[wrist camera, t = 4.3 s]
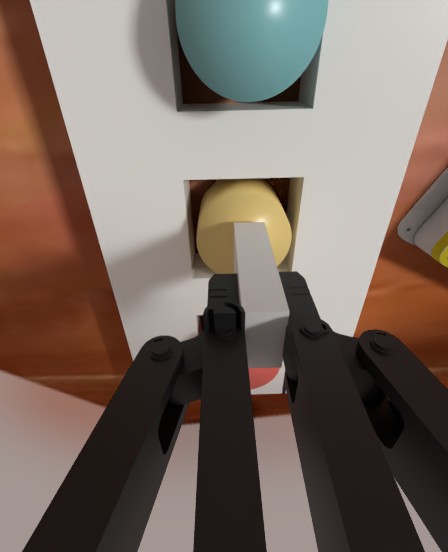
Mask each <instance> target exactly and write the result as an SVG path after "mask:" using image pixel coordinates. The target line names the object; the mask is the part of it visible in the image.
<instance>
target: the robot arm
mask: <svg viewBox="0 0 448 552" xmlns="http://www.w3.org/2000/svg"><path fill="white" fill-rule="evenodd" d="M203 320H204V330H203V331H202V332H201V333H200V334H199V335H197V336H196V337H194V338H191V339H189V340H185V341H182V342H180V341H179V340H178V339H176V338H175V337H172V336H165V335H161V336H157V337H154V338H152V339H150V340H148V341H147V342H146V343H145V344H144V345H143V346H142V347H141V349H140V351H139V352H138V354H137V356H136V357H135V359H134V361H133V363H132V364H131V366H130V368H129V369H128V371H127V373H126V375H125V376H124V378H123V380H122V381H121V383H120V385H119V387H118V388H117V390H116V392H115V393H114V395H113V397H112V399H111V400H110V402H109V404H108V405H107V407H106V409H105V411H104V412H103V414H102V416H101V418H100V419H99V421H98V423H97V424H96V426H95V428H94V430H93V431H92V433H91V435H90V436H89V438H88V440H87V441H86V443H85V445H84V447H83V448H82V450H81V452H80V453H79V455H78V457H77V459H76V460H75V462H74V464H73V465H72V467H71V469H70V471H69V473H68V474H67V476H66V478H65V479H64V481H63V483H62V484H61V486H60V488H59V489H58V491H57V493H56V495H55V496H54V498H53V500H52V501H51V503H50V505H49V507H48V508H47V510H46V512H45V513H44V515H43V517H42V519H41V521H40V522H39V524H38V526H37V527H36V529H35V531H34V532H33V534H32V536H31V538H30V539H29V541H28V543H27V544H26V546H25V548H24V550H23V551H22V552H137V551H138V548H139V545H140V542H141V539H142V537H143V534H144V531H145V528H146V525H147V522H148V520H149V517H150V514H151V511H152V508H153V505H154V502H155V500H156V497H157V494H158V491H159V488H160V485H161V482H162V480H163V476H164V474H165V471H166V468H167V465H168V462H169V460H170V457H171V454H172V451H173V448H174V445H175V442H176V440H177V437H178V434H179V431H180V428H181V425H182V422H183V419H184V417H185V414H186V411H187V408H188V405H189V403H190V402H193V401H196V400H199V399H201V411H200V431H199V452H198V472H197V491H196V510H195V511H196V512H195V530H194V551H193V552H267V551H266V542H265V531H264V522H263V511H262V501H261V491H260V480H259V471H258V461H257V450H256V440H255V430H254V420H253V409H252V399H251V389H250V379H249V369H248V368H282V362H283V361H284V366H285V374H284V381H283V388H282V394H285V392H287V397H288V402H289V407H290V412H291V417H292V422H293V427H294V432H295V437H296V442H297V447H298V452H299V457H300V462H301V467H302V472H303V477H304V482H305V487H306V492H307V497H308V502H309V507H310V512H311V517H312V522H313V527H314V532H315V537H316V542H317V547H318V552H425V551H424V548H423V546H422V544H421V541H420V539H419V536H418V534H417V532H416V529H415V527H414V524H413V522H412V520H411V517H410V515H409V513H408V510H407V508H406V505H405V503H404V500H403V498H402V496H401V493H400V491H399V488H398V486H397V484H396V481H397V482H398V484H399V485H400V487H401V489H402V490H403V492H404V493H405V495H406V496H407V498H408V500H409V501H410V503H411V504H412V506H413V507H414V509H415V510H416V512H417V513H418V515H419V517H420V518H421V520H422V521H423V523H424V525H425V526H426V528H427V529H428V531H429V532H430V534H431V535H432V537H433V539H434V540H435V542H436V543H437V545H438V546H439V548H440V550H441V551H442V552H448V389H447V388H446V387H445V386H444V385H443V384H442V383H441V382H440V381H439V380H438V379H437V378H436V377H435V376H434V375H433V374H432V372H431V371H430V370H429V369H428V368H427V367H426V366H425V365H424V364H423V363H422V362H421V361H420V360H419V359H418V358H417V357H416V356H415V355H414V354H413V353H412V352H411V351H410V350H409V349H408V348H407V347H406V346H405V345H404V344H403V343H402V342H401V341H400V340H399V339H398V338H396V337H395V336H394V335H392V334H389V333H387V332H385V331H380V330H368V331H365V332H363V333H362V334H361V336H360V337H359V338H355V337H350V336H346V335H342V334H339V333H336V332H334V331H333V330H332V329H331V327H330V326H329V324H327V323H326V322H325V321H323V320H321V319H320V316H319V313H318V311H317V308H316V306H315V303H314V301H313V298H312V296H311V294H310V291H309V288H308V285H307V283H306V280H305V278H304V277H303V276H302V275H300V274H299V273H298V272H297V271H288V272H278V269H277V265H276V262H275V258H274V254H273V251H272V247H271V244H270V240H269V237H268V233H267V229H266V226H265V222H242V223H234V274H213V276H212V277H211V278H210V280H209V281H208V301H207V307H206V308H205V310H204V312H203ZM394 478H395V479H396V481H395V479H394Z"/></svg>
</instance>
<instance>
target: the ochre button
mask: <svg viewBox="0 0 448 552" xmlns="http://www.w3.org/2000/svg"><path fill="white" fill-rule="evenodd" d="M242 222H265V226H266V229H267V233H268V237H269V240H270V244H271V247H272V251H273V254H274V258H275V262H276V265H277V266H278V265H279V264H280V263H281V262H282V261H283V260H284V258H285V257H286V255H287V253H288V251H289V248H290V245H291V238H292V233H291V227H290V223H289V221H288V218H287V216H286V214H285V212H284V210H283V207H282V205H281V203H280V201H279V198H278V196H277V194H276V192H275V191H274V189H273V188H272V187H271V186H270V185H269V184H268V183H267V182H266V181H264V180H263V179H261V178H249V179H219V180H218V181H216V182H215V183H214V184H213V185H211V186H210V188H209V189H208V190H207V191H206V193H205V194H204V196H203V198H202V201H201V204H200V211H199V219H198V228H197V237H196V243H197V249H198V252H199V254H200V257H201V258H202V260H203V262H204V263H205V264H206V265H207V266H208V267H209V268H210V269H211V270H212V271H214V272H215V273H217V274H234V223H242Z"/></svg>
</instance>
